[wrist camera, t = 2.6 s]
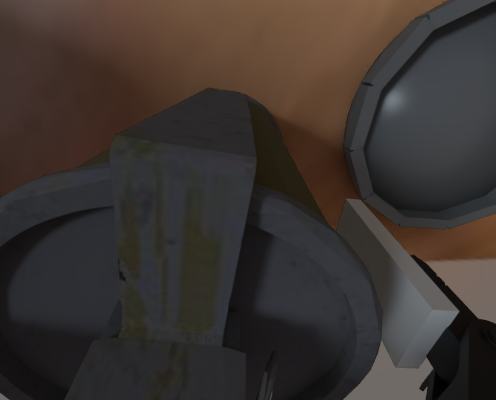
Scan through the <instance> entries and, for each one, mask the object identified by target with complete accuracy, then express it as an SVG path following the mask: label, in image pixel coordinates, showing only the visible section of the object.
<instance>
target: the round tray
mask: <svg viewBox="0 0 496 400" xmlns="http://www.w3.org/2000/svg"><path fill="white" fill-rule="evenodd" d="M343 145H344V147H343V149H344V153H345V160H346V165H347V169H348V172H349V175H350V177H351V179H352V181H353V184H354V188H355V191H356V193H357V194H358V195H359V196H360V197H361V198H362V199H363V200H364V201H365V202H366V203H368V204H369V205H370V206H372V207H373V208H374V209H376V210H377V211H378V212H380V213H381V214H382V215H384V216H385V217H387V218H388V219H389V220H391V221H392V222H393V223H395V224H396V225H397V226H398V225H399V226H404V227H419V228H433V229H447V228H448V229H450V228H453V227H456V226H459V225H462V224H465V223H468V222H471V221H474V220H477V219H480V218H483V217H486V216H489V215H492V214H495V213H496V0H449V1H447V2H444V3H442V4H441V5H439V6H437V7H436V8H434V9H432V10H430V11H428V12H426V13H424V14H422V15H420V16H418V17H416V18H415V20H413V21H411V22H410V23H409V25H408V26H407V27H406V28H405V29H404V30H403V31H402V32H401V33H400V34H399V35H398V36H397V37H396V38H394V40H393V41H392V42H391V43H390V44H389V45H388V46H387V47H386V48H385V49H384V51H383V52H382V53H381V54H380V55H379V57H378V58H377V59H376V61H375V62H374V63H373V65H372V66H371V67H370V69H369V71H368V72H367V74H366V76H365V77H364V79H363V80H362V81H361V84H360V85H359V88H358V90H357V93H356V95H355V97H354V99H353V102H352V105H351V108H350V111H349V114H348V118H347V123H346V128H345V137H344V143H343Z"/></svg>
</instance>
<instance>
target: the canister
mask: <svg viewBox="0 0 496 400" xmlns="http://www.w3.org/2000/svg"><path fill="white" fill-rule="evenodd" d="M382 321H383V310H382V307H381V304H380V301H379V298H378V295H377V292H376V289H375V287H374V284H373V281H372V278H371V275H370V273H369V271H368V269H367V268H366V266H365V264H364V262H363V261H362V260H361V258H360V257H359V256H358V255H357V253H356V252H355V251H354V250H353V249H352V247H351V246H350V245H349V244H348V242H347V241H346V240H345V239H344V238H342V237H341V236H340V235H339V234H338V233H337V232H336V231H335V230H334V229H333V228H332V227H331V226H329V225H328V223H327V221H326V220H325V218H324V216H323V214H322V212H321V210H320V209H319V207H318V205H317V203H316V201H315V200H314V198H313V196H312V194H311V192H310V190H309V189H308V187H307V185H306V183H305V181H304V180H303V178H302V176H301V174H300V172H299V170H298V169H297V167H296V165H295V163H294V161H293V160H292V158H291V156H290V154H289V152H288V150H287V149H286V147H285V145H284V143H283V141H282V137H281V133H280V130H279V128H278V126H277V124H276V122H275V120H274V119H273V117H272V116H271V115H270V114H269V112H268V111H267V110H266V109H265V108H264V107H263V106H262V105H261V104H259V103H258V102H257V101H255V100H254V99H252V98H250V97H248V96H247V95H245V94H241V93H238V92H234V91H227V90H218V89H213V88H207V89H205V90H203V91H201V92H199V93H197V94H195V95H193V96H191V97H189V98H188V99H186V100H184V101H182V102H180V103H178V104H176V105H174V106H172V107H170V108H168V109H166V110H164V111H162V112H160V113H158V114H156V115H154V116H152V117H150V118H148V119H146V120H144V121H142V122H140V123H138V124H136V125H134V126H132V127H130V128H128V129H126V130H124V131H122V132H120V133H118V134H116V135H115V137H114V139H113V141H112V143H111V146H110V148H109V149H108V150H106V151H104V152H102V153H101V154H99V155H97V156H96V157H94V158H92V159H90V160H89V161H87V162H85V163H84V164H82V165H80V166H79V167H77V168H75V169H72V170H68V171H63V172H58V173H53V174H49V175H44V176H42V177H40V178H38V179H35V180H33V181H31V182H29V183H27V184H24V185H22V186H20V187H19V188H17V189H15V190H13V191H11V192H9V193H8V194H6V195H4V196H2V197H0V393H1V394H3V395H4V396H5V397H6V398H8V399H9V400H343V399H344V398H345V397H346V396H347V395H348V394H349V393H350V392H351V391H352V390H354V389H355V388H356V387H357V386H358V385H359V384H360V382H361V381H362V380H363V379H364V377H365V376H366V375H367V374H368V373H369V371H370V370H371V368H372V366H373V363H374V361H375V359H376V356H377V354H378V350H379V346H380V343H381V336H382Z"/></svg>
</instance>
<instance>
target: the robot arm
mask: <svg viewBox="0 0 496 400" xmlns="http://www.w3.org/2000/svg"><path fill="white" fill-rule="evenodd" d="M336 232H337V233H338V234H339V235H340V236H341V237H342V238H344V239H345V240H346V241H347V242H348V244H349V245H350V246H351V247H352V249H353V250H354V251H355V252H356V253H357V255H358V256H359V257H360V258H361V260H362V261H363V262H364V264H365V266H366V268H367V269H368V271H369V273H370V275H371V278H372V281H373V284H374V287H375V289H376V292H377V295H378V298H379V301H380V304H381V307H382V310H383V321H382V336H381V340H382V341H383V343H384V345H385V347H386V349H387V351H388V353H389V355H390V357H391V359H392V361H393V363H394V365H395V367H400V368H419V367H420V365H421V364H422V363H423V361H424V360H425V358H426V357H427V359H428V360H429V362H430V363H431V365H432V366H433V368H434V369H433V370H432V371H431V373H430V374H429V375H428V377H427V378H426V379H425V380H424V382H423V383H422V384H421V386H420V390H422V391H424V390H425V388H426V387H428V388H427V395H426V400H496V324H495V323H492V322H490V321H487V320H482V319H478V318H477V317H476V316H475V315H474V314H473V313H472V312H471V311H470V309H469V308H468V307H467V306H466V305H465V304H464V303H463V302H462V301H461V300H460V299H459V298H458V297H457V296H456V294H455V293H454V292H453V291H452V290H451V289H450V288H449V287H448V286H446V285H445V283H444V282H443V281H442V279H441V278H440V277H437V275H436V273H435V272H434V271H433V270H432V269H431V268H430V267H429V266H428V265H427V264H426V263H425V262H423V261H422V260H420V259H419V258H418V257H416V256H415V255H409V254H408V253H407V252H406V251H405V249H404V248H403V247H402V246H401V245H400V244H399V243H398V242H397V240H396V239H395V238H394V237H393V236H392V235H391V234H390V232H389V231H388V230H387V229H386V228H385V227H384V226H383V225H382V223H381V222H380V221H379V220H378V219H377V218H376V217H375V216H374V214H373V213H372V212H371V211H370V210H369V209H368V208H367V207H366V205H365V204H364V203H363V202H362V201H361V200H358V199H346V200H345V203H344V206H343V209H342V213H341V216H340V219H339V222H338V226H337V229H336Z"/></svg>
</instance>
